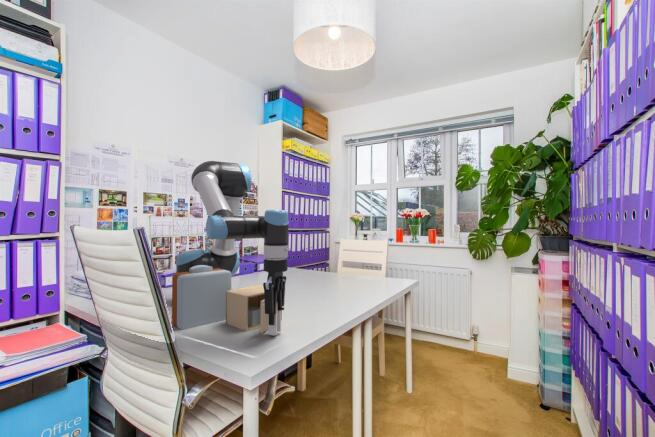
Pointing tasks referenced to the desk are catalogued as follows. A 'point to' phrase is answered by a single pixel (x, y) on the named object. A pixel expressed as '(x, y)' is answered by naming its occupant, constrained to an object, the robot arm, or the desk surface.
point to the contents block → (254, 315)
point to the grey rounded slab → (199, 296)
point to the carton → (242, 305)
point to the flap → (265, 317)
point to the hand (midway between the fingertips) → (274, 332)
